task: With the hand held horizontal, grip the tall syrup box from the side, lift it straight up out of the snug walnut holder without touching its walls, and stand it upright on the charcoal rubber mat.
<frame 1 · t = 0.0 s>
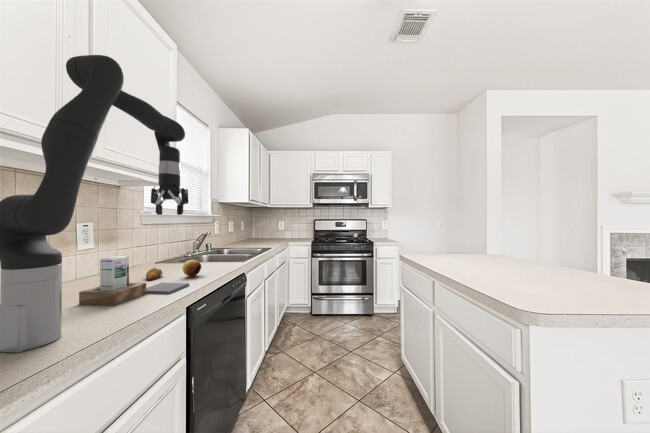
hand: (169, 214, 104), 29 cm above the counter, tool pointing down, fingers open, 8 cm apart
fruit: (191, 277, 125), on the counter
walnut holder: (114, 298, 91), on the counter
croissant: (154, 278, 123), on the counter
charcoal mat: (165, 289, 103), on the counter
syrup box: (114, 299, 91), resting in walnut holder
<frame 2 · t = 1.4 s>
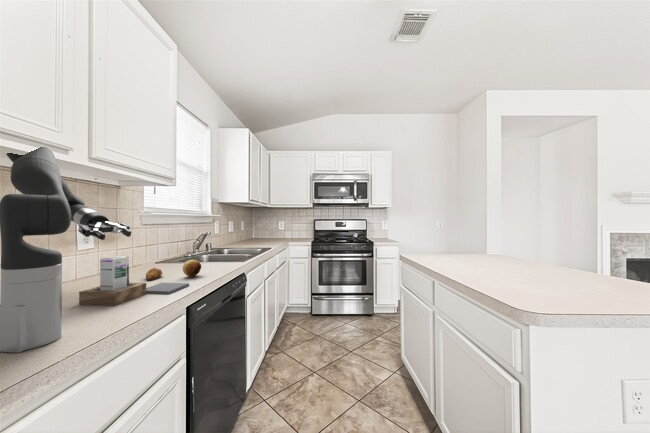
hand: (117, 235, 96), 21 cm above the counter, tool tilted 70°, fingers open, 8 cm apart
nothing on the counter moved.
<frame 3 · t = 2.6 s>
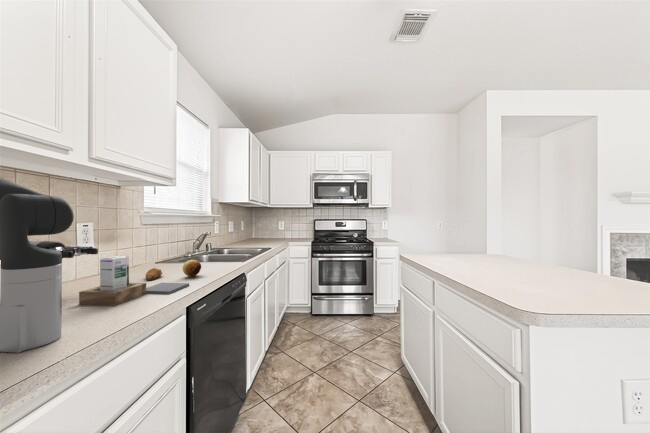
hand: (85, 252, 92), 16 cm above the counter, tool horizontal, fingers open, 8 cm apart
nothing on the counter moved.
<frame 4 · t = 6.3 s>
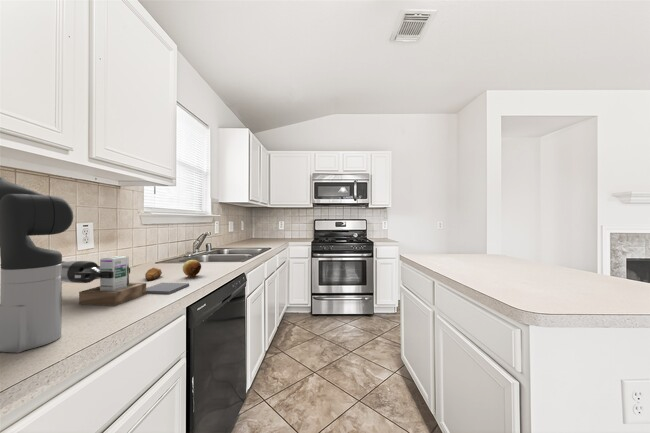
hand: (121, 272, 91), 9 cm above the counter, tool horizontal, fingers closed on syrup box, 6 cm apart
syrup box: (114, 299, 91), resting in walnut holder, touching gripper
everything else where it was.
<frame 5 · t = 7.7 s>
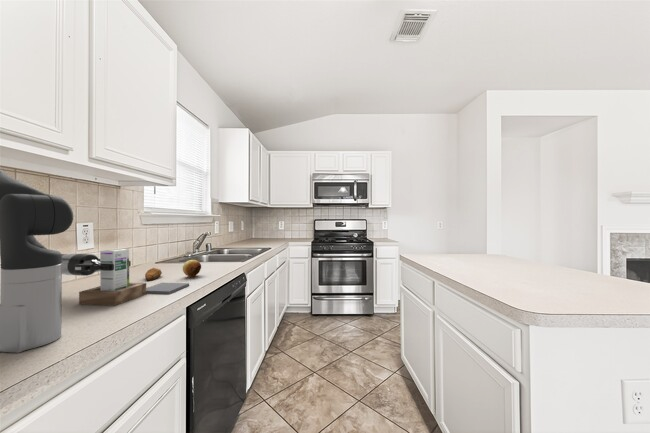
hand: (121, 265, 91), 12 cm above the counter, tool horizontal, fingers closed on syrup box, 6 cm apart
syrup box: (114, 292, 91), point 2 cm above the counter, touching gripper
everything else where it was.
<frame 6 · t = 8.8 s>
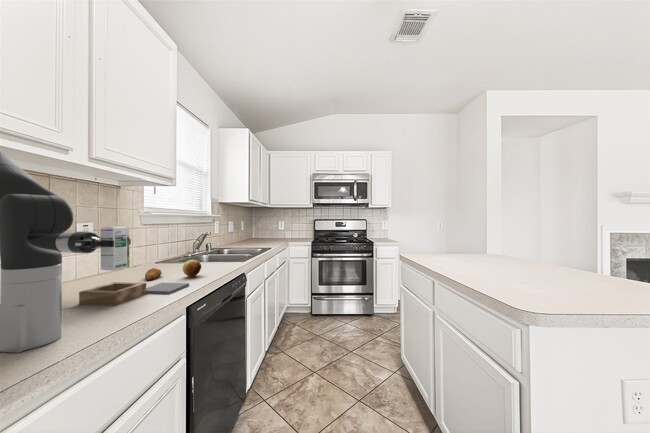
hand: (121, 242, 91), 19 cm above the counter, tool horizontal, fingers closed on syrup box, 6 cm apart
syrup box: (115, 269, 91), point 10 cm above the counter, touching gripper
everything else where it was.
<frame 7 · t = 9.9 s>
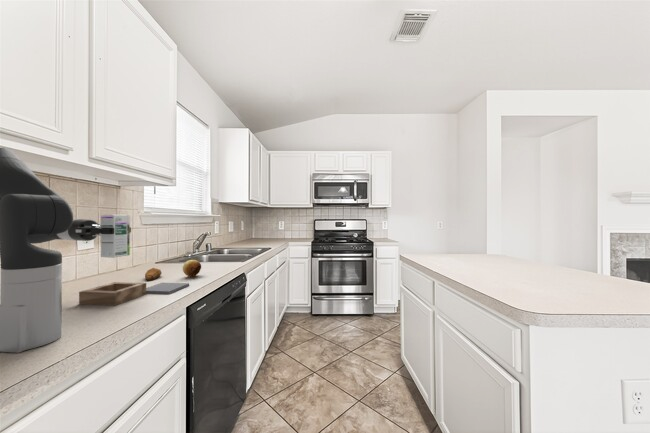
hand: (121, 230, 91), 24 cm above the counter, tool horizontal, fingers closed on syrup box, 6 cm apart
syrup box: (115, 256, 91), point 14 cm above the counter, touching gripper
everything else where it was.
when the fingers open (11 cm above the counter, at t = 14.1 s): syrup box drops 1 cm, resting on charcoal mat.
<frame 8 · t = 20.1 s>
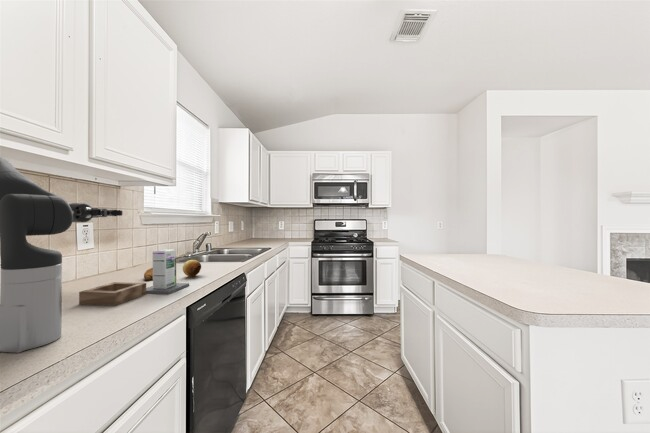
hand: (112, 212, 101), 30 cm above the counter, tool horizontal, fingers open, 8 cm apart
syrup box: (164, 287, 102), point 1 cm above the counter, touching charcoal mat
everything else where it was.
at the end: syrup box inside the target area on the charcoal mat (0.5 cm from its centre), point 0.8 cm above the charcoal mat's base; syrup box tilted 0°; the gripper is holding nothing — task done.
